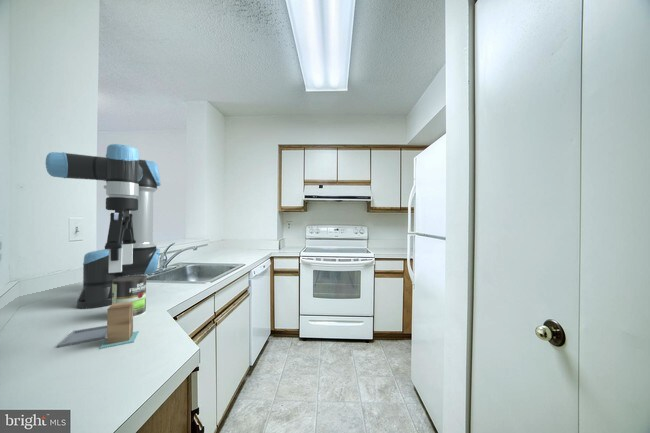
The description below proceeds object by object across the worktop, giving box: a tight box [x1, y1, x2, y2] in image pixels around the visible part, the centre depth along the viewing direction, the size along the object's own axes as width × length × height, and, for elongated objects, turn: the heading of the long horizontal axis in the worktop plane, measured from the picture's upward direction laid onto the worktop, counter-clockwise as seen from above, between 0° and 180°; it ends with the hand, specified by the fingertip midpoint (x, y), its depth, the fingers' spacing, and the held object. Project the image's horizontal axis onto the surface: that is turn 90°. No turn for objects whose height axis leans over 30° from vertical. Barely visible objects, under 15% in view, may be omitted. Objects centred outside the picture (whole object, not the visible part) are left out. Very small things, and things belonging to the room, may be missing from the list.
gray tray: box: [57, 325, 107, 349], centre depth 74 cm, size 10×10×1 cm
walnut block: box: [106, 301, 134, 345], centre depth 72 cm, size 5×5×10 cm
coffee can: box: [111, 275, 147, 319], centre depth 92 cm, size 10×10×14 cm
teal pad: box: [99, 330, 140, 350], centre depth 72 cm, size 8×8×1 cm
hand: (121, 268), depth 72 cm, fingers open, 13 cm apart
